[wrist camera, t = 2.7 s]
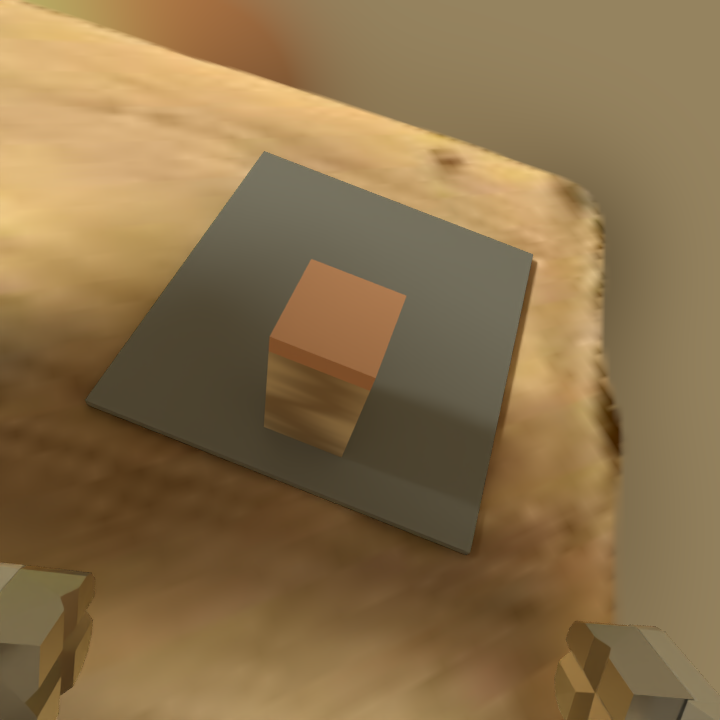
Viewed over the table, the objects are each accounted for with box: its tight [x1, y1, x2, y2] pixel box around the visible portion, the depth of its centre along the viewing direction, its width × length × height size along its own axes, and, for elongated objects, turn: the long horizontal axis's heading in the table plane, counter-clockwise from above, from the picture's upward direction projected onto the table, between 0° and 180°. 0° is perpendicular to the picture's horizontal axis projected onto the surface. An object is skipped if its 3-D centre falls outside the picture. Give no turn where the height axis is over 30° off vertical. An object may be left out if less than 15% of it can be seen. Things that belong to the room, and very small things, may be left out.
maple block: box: [264, 259, 406, 457], centre depth 23 cm, size 4×4×8 cm
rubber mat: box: [85, 151, 533, 555], centre depth 30 cm, size 19×20×1 cm
